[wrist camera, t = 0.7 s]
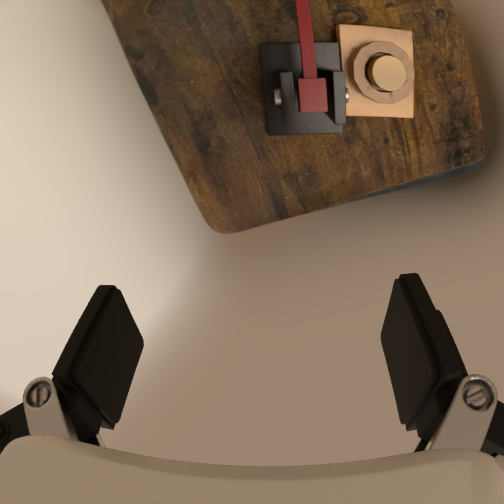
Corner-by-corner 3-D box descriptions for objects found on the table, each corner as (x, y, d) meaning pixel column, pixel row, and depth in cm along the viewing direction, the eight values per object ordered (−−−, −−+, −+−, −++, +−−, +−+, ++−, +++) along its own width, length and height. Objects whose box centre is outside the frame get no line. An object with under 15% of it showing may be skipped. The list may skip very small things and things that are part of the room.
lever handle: (275, -37, 19) (275, -52, 16) (311, -38, 19) (315, -52, 16) (292, 112, 26) (294, 113, 23) (328, 111, 25) (335, 112, 22)
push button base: (335, 25, 26) (342, 22, 23) (405, 31, 25) (419, 30, 22) (340, 113, 31) (347, 119, 28) (407, 115, 30) (420, 122, 28)
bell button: (365, 53, 25) (371, 54, 23) (399, 56, 24) (406, 57, 23) (367, 88, 27) (372, 90, 25) (400, 90, 26) (407, 92, 25)
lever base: (259, 45, 28) (255, 39, 20) (336, 42, 27) (361, 37, 19) (268, 133, 33) (267, 160, 25) (340, 130, 32) (364, 157, 24)
